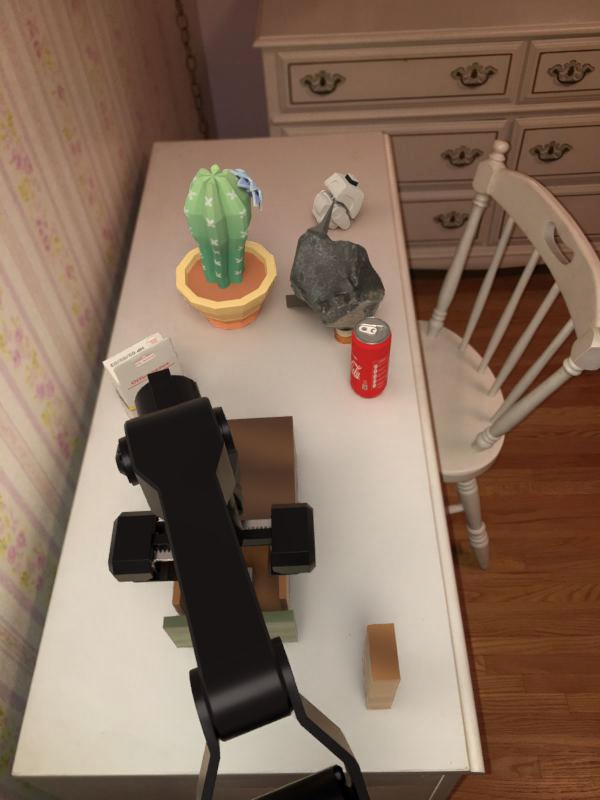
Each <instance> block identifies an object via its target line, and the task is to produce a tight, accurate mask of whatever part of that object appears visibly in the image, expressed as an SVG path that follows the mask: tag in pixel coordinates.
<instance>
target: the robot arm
mask: <svg viewBox="0 0 600 800" xmlns="http://www.w3.org/2000/svg"><path fill="white" fill-rule="evenodd" d="M147 377H148V380H149V382H148V383H147V384H145V385H144V386H143V387H142V388H141V389H140V390H139V391H138V393H137V395H136V397H135V401H134V402H135V406H136V410H137V414H138V417H135V418H132V419H130V418H129V419H128V420H125V422H124V424H123V429H124V430H123V431H124V435H125V436H122V437H120V438H118V440H117V446H116V451H115V458H114V459H115V460H114V461H115V464H116V467H117V470H118V472H119V473H120V474H121V475H122V476H125V477H126V478H127V481H128V483H129V484H130V485H132V487H135V486H138V485H139V487H140V488H141V490H142V493H143V496H144V497H145V500H146V502H147V504H148V507H149V509H150V510H135V511H121V513H119V515H118V516H117V517H116V518H115V520H114V521H113V525H112V530H111V537H110V543H109V544H110V545H109V552H108V558H107V565H108V566H107V567H108V571H109V572H110V574H111V575H112V576H113V577H114V578H115V580H116V581H117V582H118V583H127V582H128V583H131V582H132V583H134V584H137V583H163V582H164V583H165V582H174V581H178V583H179V588H180V592H181V597H182V601H183V605H184V610H185V614H186V619H187V623H188V627H189V632H190V636H191V641H192V645H193V647H192V649H193V653H194V658H195V661H196V667H193V668H192V669H189V671H188V676H189V677H188V679H189V683H190V684H189V685H190V689H191V695H192V699H193V703H194V707H195V710H196V713H197V717H198V720H199V724H200V727H201V730H202V733H203V736H204V739H205V746H204V749H203V755H202V760H201V764H200V769H199V774H198V778H197V782H196V783H197V784H196V788H195V789H196V790H195V791H196V792H195V793H196V794H195V797H196V798H195V800H213V796H214V791H215V785H216V781H217V776H218V772H219V767H220V762H221V744H220V742H222V743H227V742H228V741H231V740H234V739H235V738H238V737H241V736H243V735H246V734H248V733H250V732H253V731H256V730H258V729H260V728H263V727H266V726H268V725H271V724H273V723H275V722H279V721H280V720H283V719H285V718H288V717H291V716H292V714H293V713H294V717H295V719H296V720H297V722H298V723H299V725H300V726H301V727H302V728H303V729H304V730H305V731H306V732H308V733H309V734H310V735H311V736H312V737H314V738H315V739H316V740H317V741H318V742H319V743H320V744H322V745H323V746H324V747H325V748H326V749H327V750H328V751H329V752H331V753H332V754H333V755H334V756H335V757H336V758H337V759H338V760H340V761H341V762H342V764H343V766H344V768H343V767H342V766H341V765H340V764H338V763H334V764H332V765H330V766H328V767H325V768H322V769H320V770H319V771H316V772H314V773H311V774H308V775H306V776H304V777H302V778H299V779H297V780H295V781H291V782H289V783H288V784H285V785H283V786H280V787H278V788H275V789H273V790H271V791H268V792H266V793H264V794H261V795H259V796H257V797H255V798H252V799H251V800H371V797H370V794H369V792H368V788H367V785H366V782H365V779H364V776H363V773H362V770H361V767H360V764H359V762H358V760H357V758H356V756H355V754H354V752H353V750H352V748H351V746H350V744H349V742H348V739H347V738H346V735H345V734H344V732H343V731H342V729H341V727H339V726H338V725H337V724H336V723H335V722H334V721H332V720H331V719H330V718H329V717H328V716H327V715H326V714H325V713H323V712H322V711H321V710H320V709H319V708H317V706H315V704H314V703H312V702H311V701H310V700H308V698H306V697H305V696H304V695H303V694H302V693H301V692H300V691H299V688H298V684H297V682H296V679H295V675H294V674H293V670H292V667H291V664H290V660H289V658H288V655H287V652H286V648H285V646H284V643H282V640H281V638H280V636H278V637H275V638H273V639H270V635H269V632H268V629H267V626H266V623H265V620H264V617H263V614H262V611H261V608H260V605H259V602H258V599H257V596H256V593H255V590H254V587H253V584H252V581H251V578H250V575H249V572H248V568H247V565H246V562H245V559H244V556H243V553H242V550H241V547H249V546H268V545H269V551H268V577H272V576H284V575H289V576H295V575H296V576H297V575H299V574H309V573H312V571H313V570H315V568H316V567H317V557H316V556H317V554H316V539H315V538H316V537H315V520H314V519H315V518H314V517H315V516H314V508H313V507H312V506H311V504H309V503H308V501H307V502H298V503H286V504H272V506H271V516H270V519H260V520H240V517H239V515H244V500H243V496H242V486H241V485H240V479H241V473H240V466H239V458H238V451H237V449H236V448H235V445H234V442H233V438H232V435H231V432H230V429H229V425H228V422H227V417H226V414H225V411H224V409H223V407H222V406H216V407H213V406H212V403H211V401H210V398H209V397H207V396H202V395H201V392H200V388H199V386H198V383H197V382H196V381H194V379H192V378H190V377H188V376H185V375H184V376H182V375H171V373H170V370H169V368H166V369H163V370H160V371H156V372H153V373H150V374H147ZM160 519H161V520H160ZM253 528H254V529H253ZM257 528H258V529H257ZM261 528H262V529H261ZM244 529H245V530H244ZM344 769H345V772H346V774H345V772H344ZM346 776H347V778H346ZM347 779H348V781H349V782H348V783H349V784H348V783H347Z"/></svg>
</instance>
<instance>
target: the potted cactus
mask: <svg viewBox="0 0 600 800" xmlns="http://www.w3.org/2000/svg"><path fill="white" fill-rule="evenodd" d="M209 170H210V171H209ZM209 170H208V169H206V168H205V167H204V168H203V167H201V168H199V170H198V171H197V173H196V174H195V176H194V178H193V179H192V180H191V182H190V185H189V190H188V194H187V197H186V199H185V203H184V205H183V213H184V216H185V220H186V224H187V226H188V230H189V233H190V235H191V237H192V238H193V240H194V241H195V243H196V244H197V247H195V248H192V250H190V251H188V252H187V253H186V255H185V256H184V257H183V259H182V260H181V261H180V263H179V264H178V266H177V267H176V268H175V279H176V280H175V281H176V282H175V283H176V289H177V291H178V292H179V293H180V295H181V296H182V297H183V298H184V299H185V301H187V302H188V303H189V305H191V306H192V308H194V309H196V310H198V311H199V312H200V313H201V314H202V315H203V316H204V317H205V318H206V319H207V321H209V322H210V323H211V325H213V326H214V327H215V328H220V329H224V330H227V331H228V330H237V329H242V328H245V327H246V326H248V325H250V324H251V323H253V322H255V321H256V319H257V317H258V316H259V314H260V313H261V307H262V305H263V303H264V301H265V300H266V298H267V296H268V295H269V293H270V291H271V290H272V288H273V286H274V285H275V283H276V280H277V275H278V273H277V268H276V261H275V258H274V255H273V254H272V253H271V252H270V251H268V250H267V248H265V247H264V246H263V245H261V244H260V243H259V242H256V241H251V240H248V237H249V226H250V223H251V221H252V218H253V215H252V203H253V207H254V208H257V207H258V208H259V213H262V212H263V199H264V194H263V192H262V190H261V188H259V185H257V184H256V182H255V181H254V180H253V179H252V177H251V176H250V175H249V174H248V173H247V172H246V171H245V170H244V169H242V168H236V169H234V168H233V169H232V168H224V169H221V168H220V167H219V165H218V164H213V165H212V166H211V167H210V169H209Z"/></svg>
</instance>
